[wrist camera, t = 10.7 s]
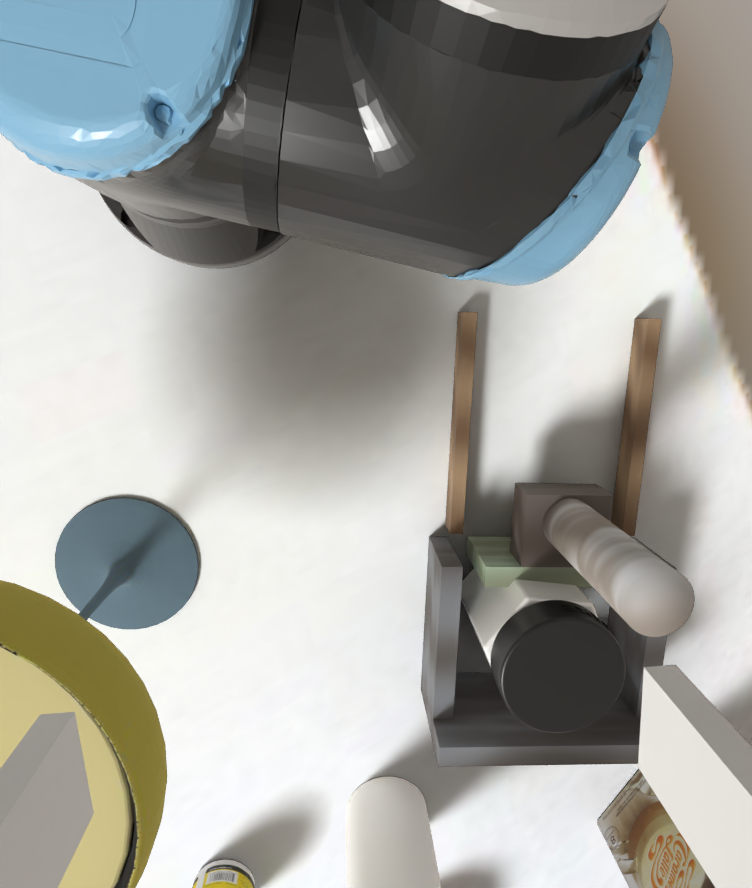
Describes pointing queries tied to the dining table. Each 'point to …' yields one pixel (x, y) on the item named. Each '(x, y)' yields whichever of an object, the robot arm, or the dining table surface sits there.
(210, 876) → the supplement bottle
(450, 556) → the lane
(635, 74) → the robot arm
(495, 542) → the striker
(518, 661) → the jar
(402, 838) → the cylindrical container
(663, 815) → the coffee box
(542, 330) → the dining table surface
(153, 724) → the cocktail glass
